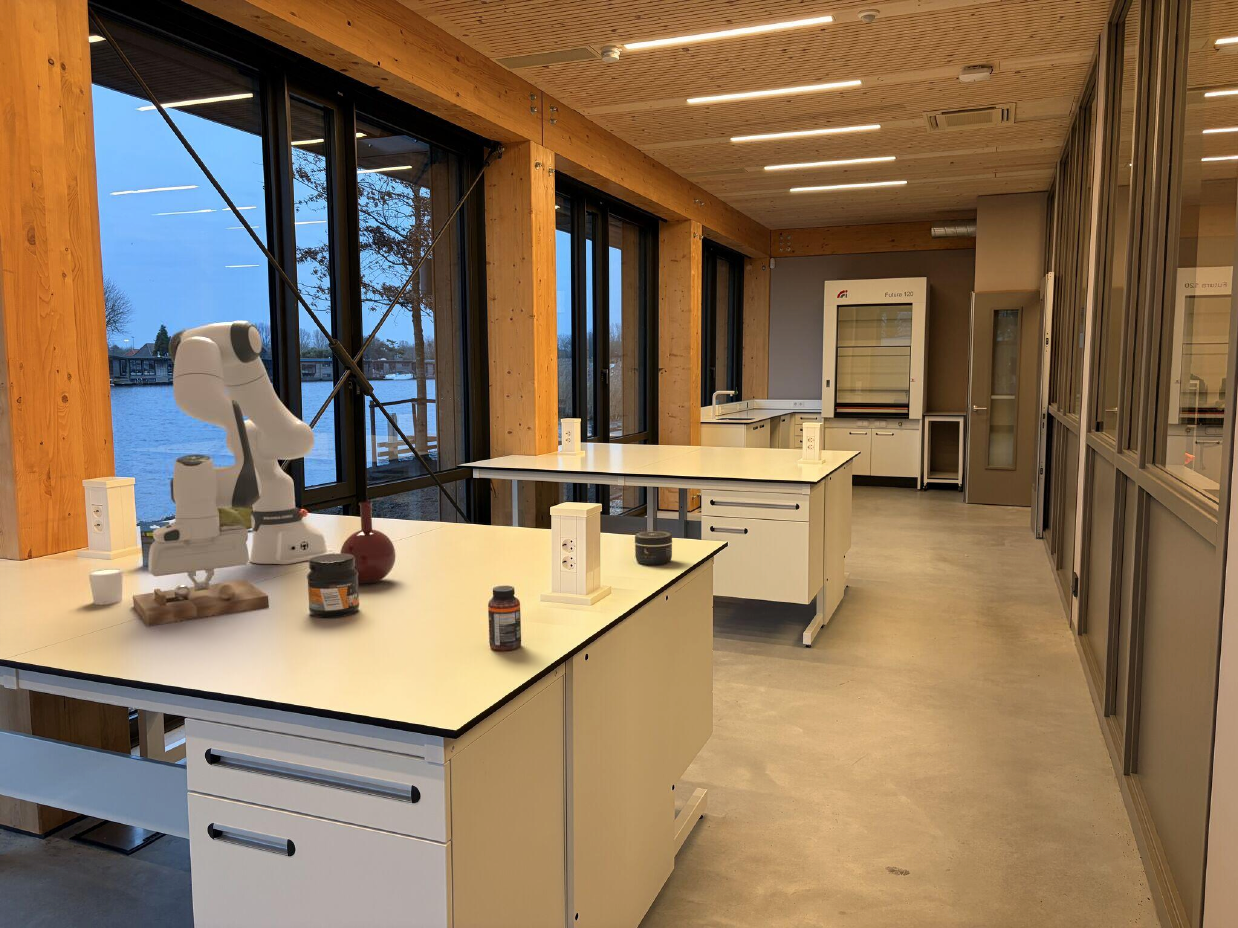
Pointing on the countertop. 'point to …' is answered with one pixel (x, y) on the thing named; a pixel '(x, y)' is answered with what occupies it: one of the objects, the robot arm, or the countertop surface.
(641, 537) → the jar
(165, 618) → the board
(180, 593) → the steel ball
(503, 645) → the supplement bottle
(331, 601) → the supplement container
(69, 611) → the countertop surface
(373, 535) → the round-bottom flask
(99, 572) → the white cup
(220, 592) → the cork ball
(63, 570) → the countertop surface
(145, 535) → the label tape cartridge
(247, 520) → the crocodile head
